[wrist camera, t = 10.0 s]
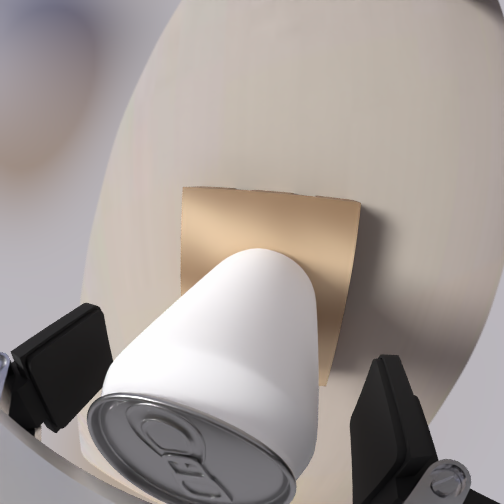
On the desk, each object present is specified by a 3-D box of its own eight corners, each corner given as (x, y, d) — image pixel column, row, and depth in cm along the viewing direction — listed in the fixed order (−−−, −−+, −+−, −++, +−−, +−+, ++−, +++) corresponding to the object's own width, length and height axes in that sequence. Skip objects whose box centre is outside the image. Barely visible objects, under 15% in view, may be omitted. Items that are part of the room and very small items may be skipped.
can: (303, 235, 15) (288, 373, 4) (324, 339, 17) (324, 525, 5) (195, 259, 17) (38, 368, 5) (224, 352, 18) (141, 505, 7)
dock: (201, 186, 19) (182, 187, 16) (352, 200, 17) (361, 202, 14) (197, 342, 22) (183, 362, 19) (324, 362, 20) (326, 386, 17)
